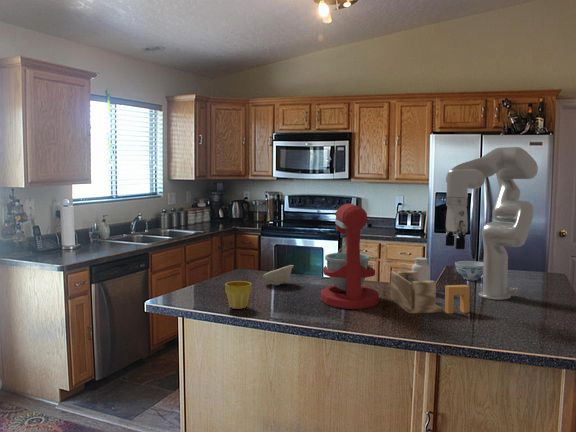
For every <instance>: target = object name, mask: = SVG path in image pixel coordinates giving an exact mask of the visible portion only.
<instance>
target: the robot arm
mask: <svg viewBox="0 0 576 432" xmlns="http://www.w3.org/2000/svg"><path fill="white" fill-rule="evenodd" d="M538 169H539V167H538V164H537V162H536V159H534V157H532V155H531V154H529V153H528V151H526V150H525V149H523V148H522V147H520V146H519V147H518V146H513V147H512V146H506V147H505V146H504V147H496V148H494V149H492V150H491V151H489V152H487V153H486V154H485V155H484V154H483V155H482V156H481V157H479V158H474V159H472V160H469V161H465V162H462V163H459V164H457V165H455V166H454V167H452V168H451V169H449V170H448V171H447V174H446V177H445V182H446V200H445V205H446V208H447V209H446V215H445V217H446V219H445V246H447V247H448V246H449V247H453V246H455V249H456V250H464V249H465V248H466V246H465V245H466V235H467V233H468V223H469V222H468V221H469V220H468V208H467V207H468V196H469V195H468V190H477V189H480V188H481V187H482V186H484V184H485V180H486V178H490V177H492V176H494V175H495V176H496V179H497V183H498V187H499V189H498V194H497V197H496V200H495V203H494V206H493V209H492V217H493V219H494V220H495V221H491V222H487V223H485V224H484V225H483V227H482V228H481V238H482V243H483V245H482V246H483V261H482V262H483V275H482V290H480V291H479V292H478V296H479V297H481V298H483V299H488V300H497V301H499V300H501V301H502V300H509V299H511V293H519V288H518V287H512V286H509V285H508V267H509V264H508V263H509V254H508V252H507V250H506V248H505V247H513V248H521V247H522V246H524V245H525V244H526V240H527V238H528V235H529V232H530V229H531V226H532V223H533V222H532V221H533V218H534V207H533V204H532V203H531V202H529V201H528V200H522V199H521V200H520V197H521V190H520V187H519V186H518V185H517V184H516V182H515V180H531V179H534V178H535V177H536V176H537V174H538V171H539V170H538ZM455 234H456V238H455Z"/></svg>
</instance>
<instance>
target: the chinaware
mask: <svg viewBox="0 0 576 432" xmlns="http://www.w3.org/2000/svg"><path fill="white" fill-rule="evenodd" d="M483 262H484V261H476V260H459V261H455V262H454V265H455V268H456V271H457V272H458V274H459V275H461V277H462V278H463V280H465V279H466V280H465V281H478V280H479V278H480V277H483Z"/></svg>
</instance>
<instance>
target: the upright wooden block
mask: <svg viewBox="0 0 576 432" xmlns="http://www.w3.org/2000/svg"><path fill="white" fill-rule="evenodd" d="M444 287H445V288H444V289H445V292H444V313H447V314H448V315H449V314H454V305H455V304H454V302H455V301H454V299H455V298H454V297H455V296H459V311H460V312H461V313H463V314H469V313H470V312H469V311H470V286H469V285H467V284H451V285H450V284H449V285H448V284H447V285H446V284H445V285H444Z"/></svg>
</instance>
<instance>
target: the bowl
mask: <svg viewBox="0 0 576 432" xmlns="http://www.w3.org/2000/svg"><path fill="white" fill-rule="evenodd" d="M293 268H294V265H293V264H289V265H286V266H283V267H279V268H278V269H274V270H270V271H268V272H266V273H264V274H263V276H262V278H263V279H265V280H267V281H269V282H271V284H272V285H273V284H277V285H276V286H279V285H280V284H281V285H282V284H286V283H288V282H289V280H290V276H291V274H292V269H293Z"/></svg>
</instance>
